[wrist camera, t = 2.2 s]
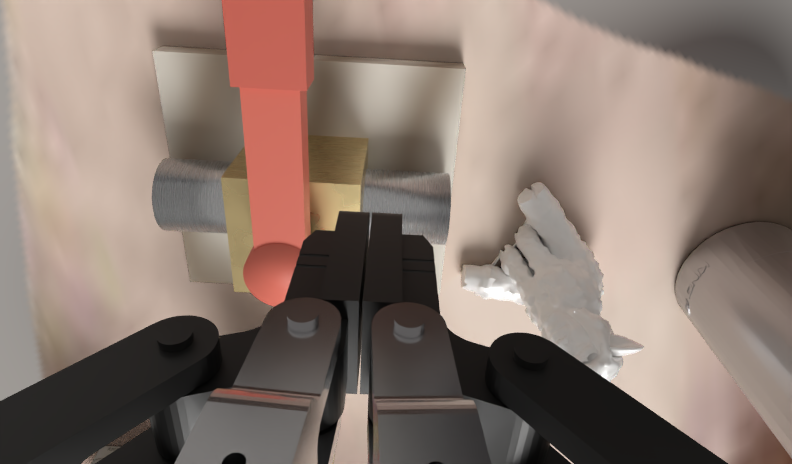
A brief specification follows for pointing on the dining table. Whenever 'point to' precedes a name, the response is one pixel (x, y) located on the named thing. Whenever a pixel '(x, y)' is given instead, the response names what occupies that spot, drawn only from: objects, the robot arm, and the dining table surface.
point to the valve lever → (273, 131)
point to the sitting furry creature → (554, 284)
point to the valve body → (329, 193)
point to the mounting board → (313, 122)
